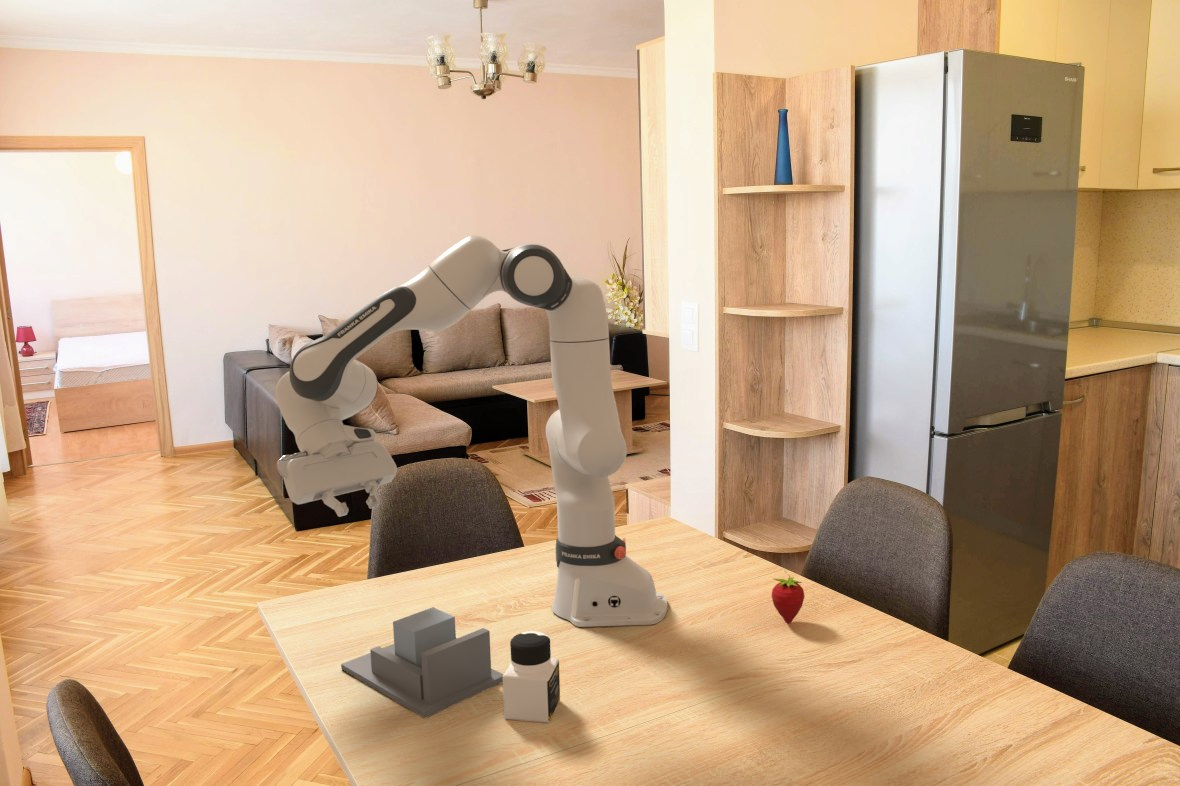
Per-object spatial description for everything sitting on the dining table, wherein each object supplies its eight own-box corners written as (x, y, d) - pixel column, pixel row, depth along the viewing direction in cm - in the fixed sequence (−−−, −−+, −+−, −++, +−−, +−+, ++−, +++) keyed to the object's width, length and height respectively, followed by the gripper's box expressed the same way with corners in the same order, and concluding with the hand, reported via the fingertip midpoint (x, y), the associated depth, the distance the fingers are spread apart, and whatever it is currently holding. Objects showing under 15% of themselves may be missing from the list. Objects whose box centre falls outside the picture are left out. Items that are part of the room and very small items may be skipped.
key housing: (341, 669, 156) (337, 619, 154) (419, 639, 167) (416, 592, 166) (424, 718, 139) (421, 662, 138) (505, 680, 151) (503, 629, 149)
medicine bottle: (549, 723, 137) (547, 648, 135) (503, 720, 138) (500, 645, 136) (560, 700, 144) (558, 628, 142) (516, 697, 145) (513, 625, 143)
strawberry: (767, 628, 168) (768, 576, 166) (775, 613, 175) (776, 562, 173) (800, 633, 166) (801, 580, 164) (807, 617, 173) (807, 566, 171)
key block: (396, 673, 151) (392, 621, 150) (435, 657, 157) (433, 607, 155) (417, 685, 147) (414, 632, 146) (457, 667, 153) (454, 616, 151)
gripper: (277, 447, 156) (311, 513, 151) (381, 428, 170) (414, 488, 165) (267, 468, 160) (299, 534, 155) (369, 448, 174) (401, 507, 169)
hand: (359, 510), depth 160 cm, fingers open, 5 cm apart
